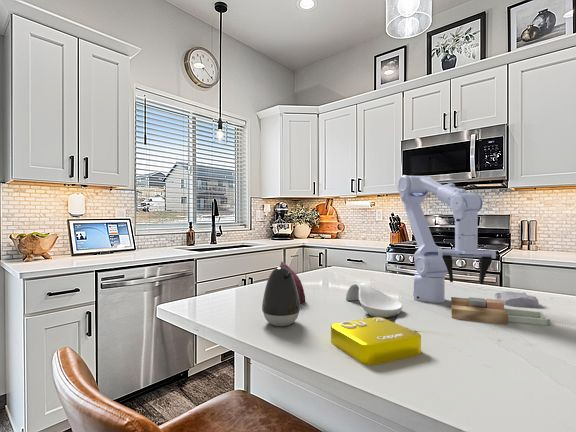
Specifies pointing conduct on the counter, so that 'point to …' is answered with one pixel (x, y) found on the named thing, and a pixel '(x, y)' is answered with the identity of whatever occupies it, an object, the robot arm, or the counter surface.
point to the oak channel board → (476, 312)
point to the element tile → (375, 340)
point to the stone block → (517, 299)
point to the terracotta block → (494, 304)
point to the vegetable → (298, 284)
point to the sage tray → (542, 321)
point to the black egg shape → (281, 298)
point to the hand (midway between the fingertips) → (466, 282)
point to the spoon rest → (373, 300)
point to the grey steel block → (477, 302)
